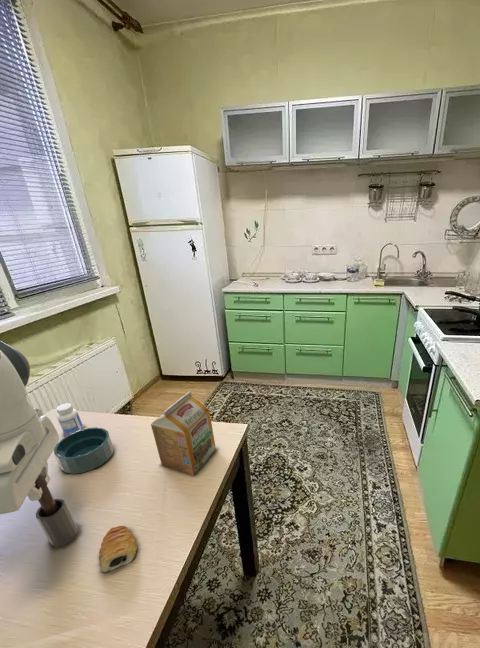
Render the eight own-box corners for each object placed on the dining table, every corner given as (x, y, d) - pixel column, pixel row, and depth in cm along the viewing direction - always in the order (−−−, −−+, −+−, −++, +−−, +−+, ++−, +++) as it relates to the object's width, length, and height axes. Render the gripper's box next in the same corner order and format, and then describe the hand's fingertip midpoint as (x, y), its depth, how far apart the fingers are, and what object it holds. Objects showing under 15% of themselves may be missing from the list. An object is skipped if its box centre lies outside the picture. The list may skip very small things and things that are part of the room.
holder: (47, 551, 67) (31, 522, 63) (56, 530, 72) (41, 501, 68) (74, 545, 68) (59, 515, 64) (81, 524, 73) (68, 496, 69)
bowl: (54, 480, 85) (45, 463, 82) (70, 447, 97) (64, 431, 94) (108, 470, 88) (102, 453, 85) (118, 439, 99) (113, 423, 97)
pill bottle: (73, 426, 106) (62, 401, 102) (87, 427, 105) (78, 402, 101) (60, 436, 101) (49, 411, 97) (75, 438, 101) (65, 412, 96)
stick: (56, 541, 69) (22, 478, 60) (60, 532, 71) (28, 469, 62) (68, 538, 69) (36, 475, 61) (71, 529, 71) (41, 467, 63)
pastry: (100, 539, 69) (95, 527, 68) (133, 525, 72) (129, 513, 71) (102, 577, 62) (97, 565, 60) (140, 560, 65) (135, 548, 63)
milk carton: (193, 475, 85) (181, 416, 77) (162, 465, 89) (146, 408, 80) (216, 450, 94) (206, 394, 85) (186, 442, 97) (174, 387, 89)
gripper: (19, 406, 66) (44, 458, 72) (-46, 479, 48) (-5, 540, 54) (53, 401, 67) (75, 452, 73) (3, 470, 49) (37, 530, 56)
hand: (41, 490), depth 64 cm, fingers closed on stick, 2 cm apart
